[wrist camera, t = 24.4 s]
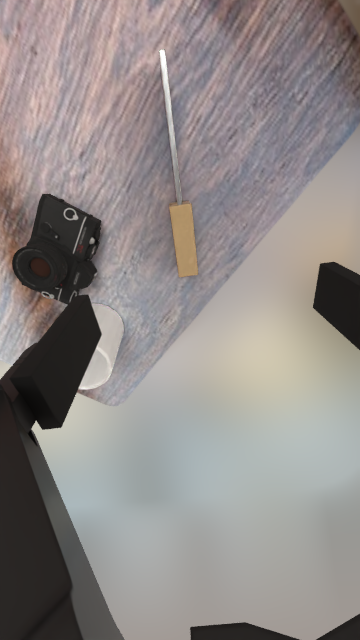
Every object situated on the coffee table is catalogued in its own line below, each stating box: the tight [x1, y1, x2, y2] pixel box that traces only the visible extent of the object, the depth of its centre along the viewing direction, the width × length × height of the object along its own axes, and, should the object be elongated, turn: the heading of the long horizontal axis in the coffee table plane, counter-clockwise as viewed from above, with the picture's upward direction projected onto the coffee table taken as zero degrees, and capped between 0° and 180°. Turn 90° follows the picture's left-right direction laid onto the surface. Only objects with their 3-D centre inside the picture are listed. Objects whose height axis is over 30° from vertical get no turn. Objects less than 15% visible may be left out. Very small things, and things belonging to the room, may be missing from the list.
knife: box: [159, 49, 198, 277], centre depth 27 cm, size 20×2×5 cm, turn 7°
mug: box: [78, 303, 124, 390], centre depth 35 cm, size 8×12×10 cm
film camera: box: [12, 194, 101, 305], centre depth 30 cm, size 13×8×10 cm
